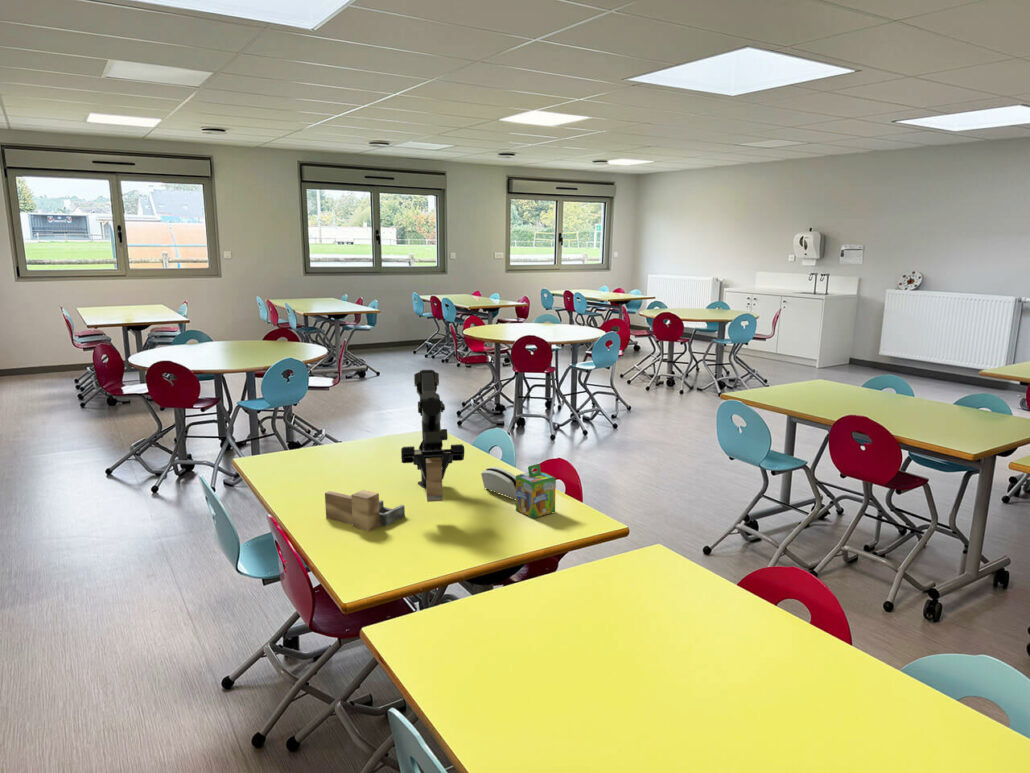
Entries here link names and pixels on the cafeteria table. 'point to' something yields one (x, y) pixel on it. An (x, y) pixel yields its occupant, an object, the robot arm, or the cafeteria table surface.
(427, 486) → the wooden block
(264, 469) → the cafeteria table surface
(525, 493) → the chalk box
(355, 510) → the wooden fixture with frame
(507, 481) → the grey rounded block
